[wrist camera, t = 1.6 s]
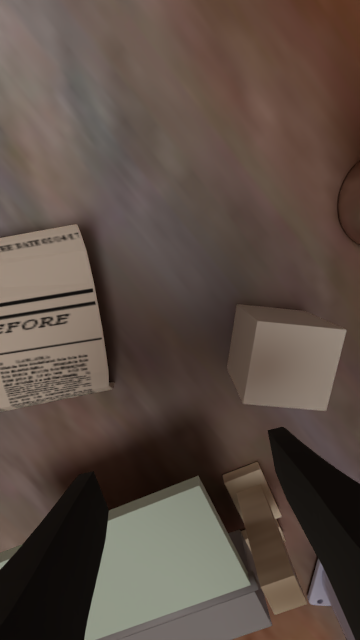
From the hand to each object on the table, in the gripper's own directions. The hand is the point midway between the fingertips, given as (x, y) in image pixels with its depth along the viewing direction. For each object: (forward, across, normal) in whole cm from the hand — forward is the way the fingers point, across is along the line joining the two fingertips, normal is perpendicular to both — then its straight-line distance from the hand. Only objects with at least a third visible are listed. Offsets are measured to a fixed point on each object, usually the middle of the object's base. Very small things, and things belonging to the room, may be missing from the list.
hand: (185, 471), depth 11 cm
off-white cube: (+10, -6, -1) cm, 12 cm away
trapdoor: (+7, +5, +11) cm, 14 cm away
